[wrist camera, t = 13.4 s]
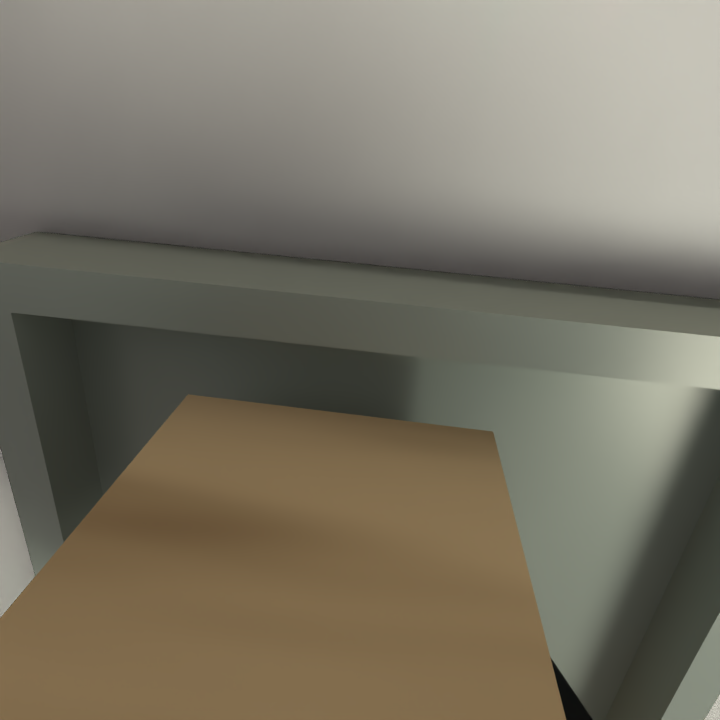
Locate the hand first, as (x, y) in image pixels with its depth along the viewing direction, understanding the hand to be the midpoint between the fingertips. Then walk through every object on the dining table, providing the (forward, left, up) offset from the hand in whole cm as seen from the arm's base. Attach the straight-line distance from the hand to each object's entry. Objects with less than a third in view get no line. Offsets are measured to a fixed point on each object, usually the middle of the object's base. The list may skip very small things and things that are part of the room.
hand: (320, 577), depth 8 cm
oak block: (0, 0, -1) cm, 1 cm away
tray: (-1, +3, -3) cm, 5 cm away
